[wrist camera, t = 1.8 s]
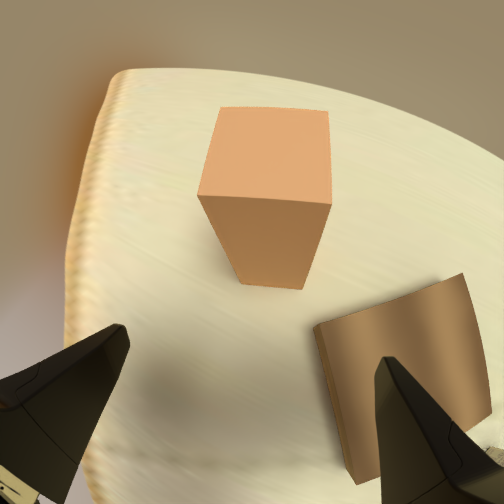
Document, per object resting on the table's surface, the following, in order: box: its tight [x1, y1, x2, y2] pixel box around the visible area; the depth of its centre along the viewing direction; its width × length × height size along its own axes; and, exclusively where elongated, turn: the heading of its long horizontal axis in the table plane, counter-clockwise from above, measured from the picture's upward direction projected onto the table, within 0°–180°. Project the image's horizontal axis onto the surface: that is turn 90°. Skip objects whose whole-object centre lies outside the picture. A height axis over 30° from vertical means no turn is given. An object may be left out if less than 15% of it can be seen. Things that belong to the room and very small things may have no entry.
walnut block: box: [313, 273, 492, 485], centre depth 18 cm, size 13×13×4 cm
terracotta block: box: [197, 107, 332, 290], centre depth 18 cm, size 5×5×14 cm
